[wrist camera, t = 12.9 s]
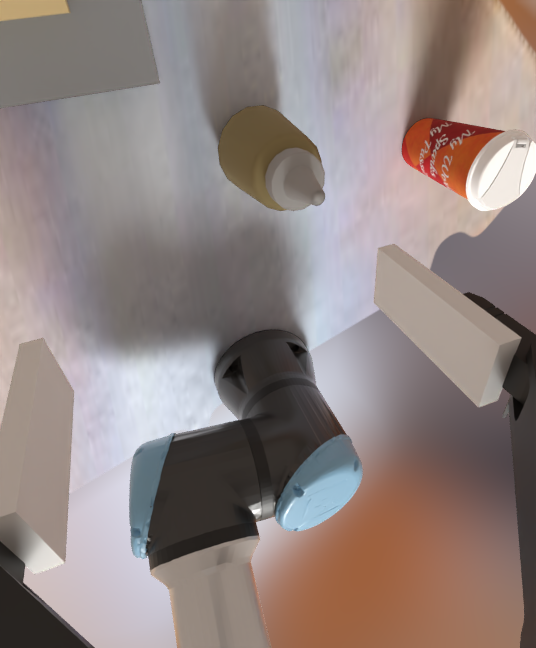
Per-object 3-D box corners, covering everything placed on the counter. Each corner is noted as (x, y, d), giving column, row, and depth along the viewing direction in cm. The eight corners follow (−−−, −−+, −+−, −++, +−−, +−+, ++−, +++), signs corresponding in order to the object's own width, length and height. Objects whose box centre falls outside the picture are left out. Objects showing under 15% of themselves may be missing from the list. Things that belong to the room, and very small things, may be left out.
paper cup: (403, 106, 47) (494, 131, 36) (456, 108, 49) (557, 132, 39) (387, 176, 51) (463, 217, 41) (436, 175, 54) (521, 213, 43)
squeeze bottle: (198, 114, 40) (252, 161, 27) (273, 88, 41) (363, 121, 28) (223, 191, 46) (278, 264, 32) (289, 166, 46) (371, 227, 33)
